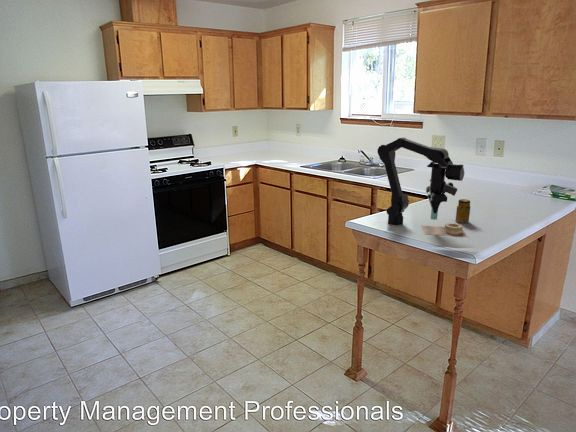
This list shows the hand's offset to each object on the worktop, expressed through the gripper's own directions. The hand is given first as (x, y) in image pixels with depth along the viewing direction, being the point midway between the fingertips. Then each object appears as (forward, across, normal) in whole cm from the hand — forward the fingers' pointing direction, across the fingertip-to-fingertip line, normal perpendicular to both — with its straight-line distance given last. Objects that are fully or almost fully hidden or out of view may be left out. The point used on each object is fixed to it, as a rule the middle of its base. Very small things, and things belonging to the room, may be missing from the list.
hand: (434, 212), depth 192 cm
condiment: (+10, +16, -17) cm, 25 cm away
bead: (+9, 0, -9) cm, 12 cm away
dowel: (+3, 0, 0) cm, 3 cm away
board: (+10, +1, -5) cm, 11 cm away
